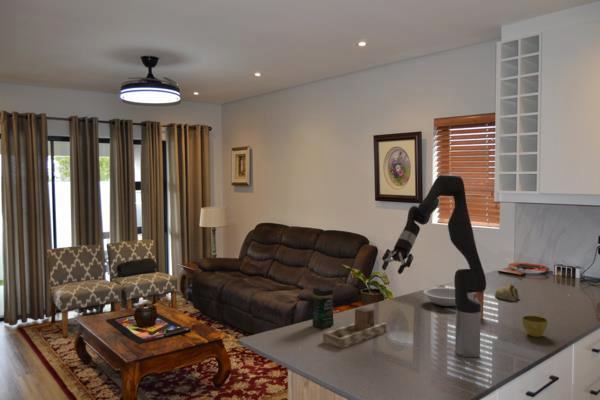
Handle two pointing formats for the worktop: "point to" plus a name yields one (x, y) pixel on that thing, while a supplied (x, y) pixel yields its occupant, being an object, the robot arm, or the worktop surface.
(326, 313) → the coffee jar
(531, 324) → the flower pot
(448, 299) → the soup bowl
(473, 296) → the small box
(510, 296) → the pastry
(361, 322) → the walnut block
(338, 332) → the birch chute
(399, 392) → the worktop surface
